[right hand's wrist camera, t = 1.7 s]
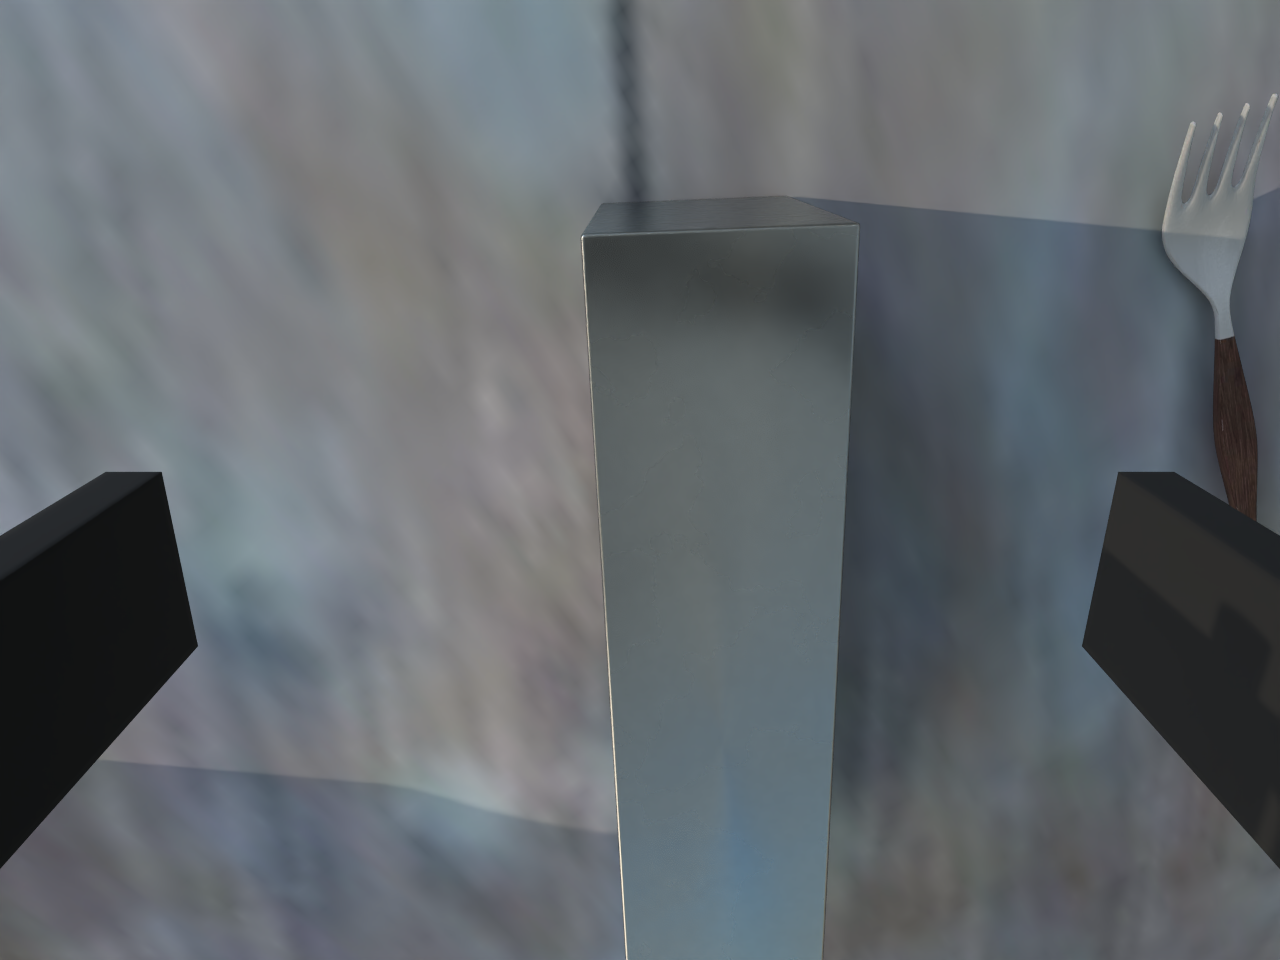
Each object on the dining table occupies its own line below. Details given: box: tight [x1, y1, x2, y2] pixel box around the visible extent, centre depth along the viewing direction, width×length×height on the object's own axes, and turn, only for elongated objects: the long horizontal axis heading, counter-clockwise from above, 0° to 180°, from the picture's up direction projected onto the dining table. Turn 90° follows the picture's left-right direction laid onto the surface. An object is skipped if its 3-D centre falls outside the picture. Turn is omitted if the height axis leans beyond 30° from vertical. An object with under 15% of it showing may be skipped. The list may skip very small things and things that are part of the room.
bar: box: [581, 196, 860, 960], centre depth 26 cm, size 25×6×9 cm, turn 2°
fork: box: [1162, 93, 1278, 521], centre depth 27 cm, size 3×16×2 cm, turn 19°
